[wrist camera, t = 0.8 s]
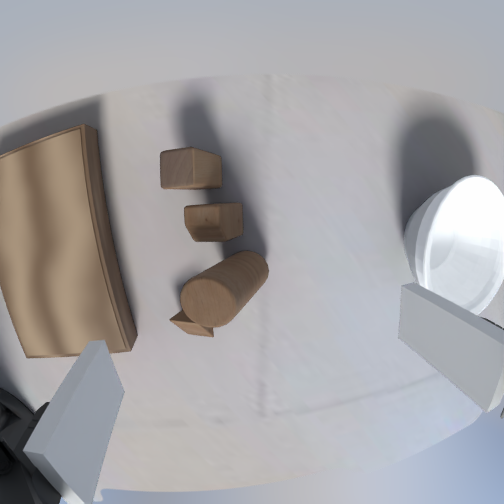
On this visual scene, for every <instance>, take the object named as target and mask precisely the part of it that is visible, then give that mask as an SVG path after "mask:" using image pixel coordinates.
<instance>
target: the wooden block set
mask: <svg viewBox="0 0 504 504" xmlns="http://www.w3.org/2000/svg"><path fill="white" fill-rule="evenodd" d="M160 177H161V188H163V189H190V190H197V189H212V188H220V187H222V162H221V156H219V155H216V154H213V153H210V152H206V151H203V150H200V149H197V148H194V147H186V148H179V149H173V150H166V151H163V152H161V153H160ZM184 217H185V226H186V228H187V229H188V231H189V233H190V235H191V236H192V238H193V240H194V241H196V242H226V241H228V240H231V239H233V238H236V237H238V236H241V235H243V211H242V204H241V203H219V204H203V205H190V206H186V207H185V208H184ZM268 273H269V269H268V264H267V263H266V261H265V259H264V258H263V257H261V256H260V255H259V254H257V253H255V252H252V251H240V252H238V253H236V254H234V255H232V256H230V257H228V258H227V259H225V260H223V261H221V262H219V263H218V264H216V265H214V266H212V267H210V268H209V269H207V270H205V271H203V272H202V273H200V274H198V275H196V276H194V277H193V278H191V279H189V280H188V281H187V282H186V283H185V284H184V286H183V288H182V290H181V294H180V302H181V306H182V309H183V310H182V311H180V312H179V313H178V314H176V315H175V316H173V317H172V318H171V319H170V321H171V322H173V323H174V324H175V325H177V326H178V327H179V328H181V329H182V330H183V331H185V332H186V333H187V334H192V335H200V336H208V337H214V333H213V327H220V326H223V325H226V324H228V323H229V322H230V321H231V320H232V319H233V318H234V317H235V316H236V315H237V314H238V313H239V311H240V310H241V309H242V308H243V307H244V306H245V305H246V303H247V302H248V301H249V300H250V299H251V298H252V297H253V295H254V294H255V293H256V292H257V291H258V290H259V288H260V287H261V286H262V285H263V284H264V283H265V281H266V279H267V278H268Z"/></svg>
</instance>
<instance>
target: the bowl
mask: <svg viewBox="0 0 504 504" xmlns="http://www.w3.org/2000/svg"><path fill="white" fill-rule="evenodd" d="M403 244H404V251H405V255H406V258H407V260H408V262H409V265H410V269H411V271H412V274H413V276H414V278H415V281H416V283H417V284H418V285H420V286H422V287H424V288H426V289H428V290H430V291H432V292H434V293H436V294H438V295H440V296H441V297H443V298H445V299H447V300H449V301H451V302H453V303H455V304H457V305H459V306H460V307H462V308H464V309H466V310H468V311H470V312H472V313H474V314H475V315H478V314H479V313H480V312H481V311H483V310H484V309H485V308H486V307H487V305H488V304H489V303H490V302H491V301H492V299H493V298H494V296H495V295H496V293H497V291H498V290H499V288H500V286H501V283H502V281H503V279H504V196H503V194H502V193H501V191H500V190H499V188H498V187H497V186H496V185H495V184H494V183H493V182H492V181H491V180H489V179H487V178H485V177H483V176H479V175H470V176H465V177H463V178H461V179H460V180H458V181H456V182H455V183H454V184H453V185H452V186H449V187H447V188H444V189H441V190H440V191H438V192H436V193H434V194H433V195H432V196H431V197H430V198H428V199H427V200H426V201H425V202H424V203H423V204H422V205H421V206H420V207H419V208H418V209H416V210H415V211H414V213H413V214H412V215H411V217H410V219H409V220H408V222H407V225H406V228H405V233H404V243H403Z"/></svg>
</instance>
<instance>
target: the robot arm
mask: <svg viewBox="0 0 504 504" xmlns="http://www.w3.org/2000/svg"><path fill="white" fill-rule="evenodd" d="M398 338H399V339H400V340H401V341H403V342H404V343H405V344H406V345H407V346H409V347H410V348H411V349H412V350H413V351H415V352H416V353H417V354H418V355H419V356H421V357H422V358H423V359H424V360H425V361H426V362H428V363H429V364H430V365H431V366H432V367H434V368H435V369H436V370H437V371H438V372H440V373H441V374H442V375H443V376H444V377H445V378H447V379H448V380H449V381H450V382H451V383H452V384H454V385H455V386H456V387H457V388H458V389H459V390H461V391H462V392H463V393H464V394H465V395H466V396H467V397H469V398H470V399H471V400H472V401H473V402H474V403H475V404H477V405H478V406H479V407H480V408H481V409H482V410H483V411H485V412H486V413H488V412H489V411H491V410H492V409H493V408H495V407H496V406H497V405H499V404H500V401H501V399H502V396H503V394H504V328H503V329H502V327H501V326H499V325H497V324H496V325H495V323H493V322H492V321H490V320H488V319H486V318H482V317H479V316H477V315H475V314H474V313H472V312H470V311H468V310H466V309H464V308H462V307H460V306H459V305H457V304H455V303H453V302H451V301H449V300H447V299H445V298H443V297H441V296H440V295H438V294H436V293H434V292H432V291H430V290H428V289H426V288H424V287H422V286H420V285H418V284H416V283H414V282H413V283H410V284H406V285H402V286H401V305H400V322H399V335H398ZM124 393H125V391H124V389H123V386H122V384H121V382H120V379H119V377H118V374H117V372H116V369H115V367H114V364H113V361H112V359H111V356H110V353H109V351H108V348H107V345H106V342H105V340H97V341H89V342H88V344H87V345H86V347H85V348H84V350H83V351H82V353H81V354H80V356H79V357H78V359H77V360H76V362H75V363H74V365H73V367H72V368H71V370H70V371H69V373H68V374H67V376H66V377H65V379H64V381H63V382H62V384H61V385H60V387H59V389H58V390H57V392H56V393H55V395H54V397H53V398H52V400H51V402H46V403H45V404H44V405H43V406H41V407H40V408H39V409H38V410H37V411H36V413H35V415H33V414H32V413H31V411H30V410H29V409H28V408H27V407H26V406H24V405H23V404H22V403H21V402H20V401H19V400H18V399H16V398H15V397H14V396H12V395H11V394H9V393H8V392H6V391H4V390H3V389H1V388H0V504H59V502H60V499H61V497H63V499H64V500H65V501H66V502H67V503H68V504H92V502H93V498H94V494H95V490H96V486H97V482H98V479H99V475H100V471H101V467H102V464H103V460H104V457H105V453H106V450H107V446H108V443H109V440H110V436H111V433H112V430H113V426H114V423H115V420H116V417H117V414H118V411H119V408H120V405H121V402H122V398H123V395H124ZM503 417H504V409H503V411H502V413H501V418H503Z"/></svg>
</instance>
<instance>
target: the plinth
mask: <svg viewBox="0 0 504 504" xmlns="http://www.w3.org/2000/svg"><path fill="white" fill-rule="evenodd" d="M0 286H1V290H2V293H3V296H4V299H5V302H6V306H7V309H8V312H9V314H10V317H11V320H12V323H13V326H14V328H15V331H16V333H17V336H18V339H19V341H20V344H21V346H22V348H23V351H24V353H25V355H26V358H51V357H70V356H80V354H81V353H82V351H83V350H84V348H85V347H86V345H87V344H88V342H89V341H97V340H105V342H106V345H107V348H108V351H109V353H120V352H129V351H131V350H132V348H133V345H134V343H135V341H136V338H137V336H138V335H137V332H136V329H135V325H134V322H133V319H132V315H131V312H130V308H129V305H128V301H127V297H126V294H125V290H124V286H123V282H122V278H121V274H120V270H119V266H118V261H117V257H116V252H115V248H114V243H113V238H112V233H111V228H110V223H109V217H108V212H107V206H106V200H105V193H104V187H103V180H102V173H101V165H100V156H99V147H98V136H97V130H96V129H94V128H92V127H90V126H88V125H86V124H82V125H79V126H75V127H72V128H69V129H66V130H63V131H60V132H58V133H55V134H52V135H49V136H46V137H44V138H41V139H39V140H36V141H33V142H31V143H28V144H26V145H23V146H21V147H19V148H16V149H14V150H12V151H9V152H7V153H5V154H3V155H0Z"/></svg>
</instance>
